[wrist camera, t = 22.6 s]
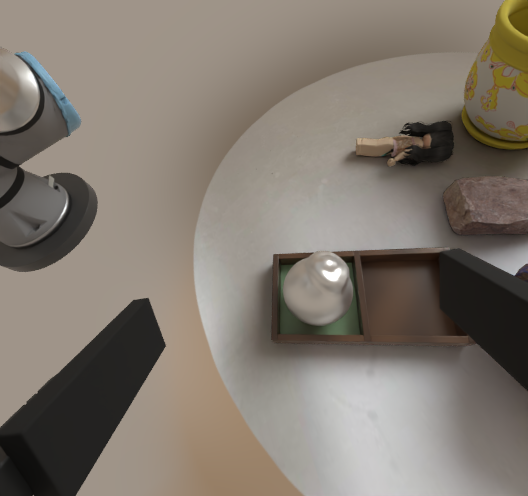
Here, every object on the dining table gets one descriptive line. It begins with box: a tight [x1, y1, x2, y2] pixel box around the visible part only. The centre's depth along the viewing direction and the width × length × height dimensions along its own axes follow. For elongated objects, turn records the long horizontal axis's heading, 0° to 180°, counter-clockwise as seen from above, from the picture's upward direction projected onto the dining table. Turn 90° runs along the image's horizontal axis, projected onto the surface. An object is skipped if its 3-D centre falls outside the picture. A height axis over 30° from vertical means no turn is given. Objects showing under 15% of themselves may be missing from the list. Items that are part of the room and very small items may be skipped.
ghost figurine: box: [283, 251, 353, 326], centre depth 34 cm, size 9×10×10 cm
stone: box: [443, 176, 528, 235], centre depth 39 cm, size 9×12×5 cm
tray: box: [271, 247, 477, 347], centre depth 37 cm, size 24×12×3 cm, turn 88°
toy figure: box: [356, 121, 454, 166], centre depth 46 cm, size 7×6×15 cm
